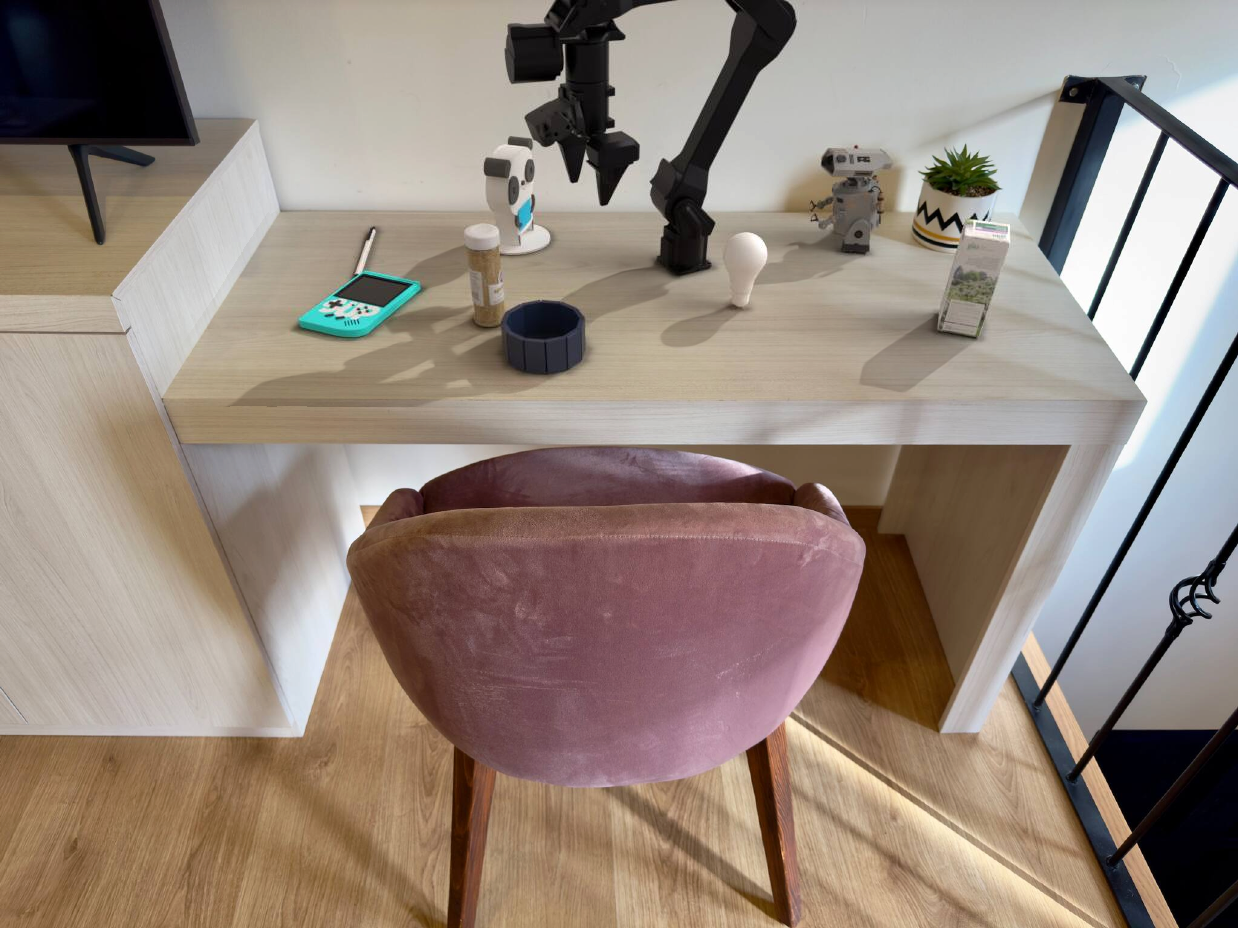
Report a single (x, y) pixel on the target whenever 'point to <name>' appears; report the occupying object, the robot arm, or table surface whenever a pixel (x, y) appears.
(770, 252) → the table surface
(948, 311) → the syrup box
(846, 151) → the figurine
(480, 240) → the sprinkles bottle
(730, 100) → the robot arm
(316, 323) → the handheld game console
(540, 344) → the pot
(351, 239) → the table surface
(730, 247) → the lightbulb
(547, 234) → the panda figurine
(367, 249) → the pen
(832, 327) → the table surface
